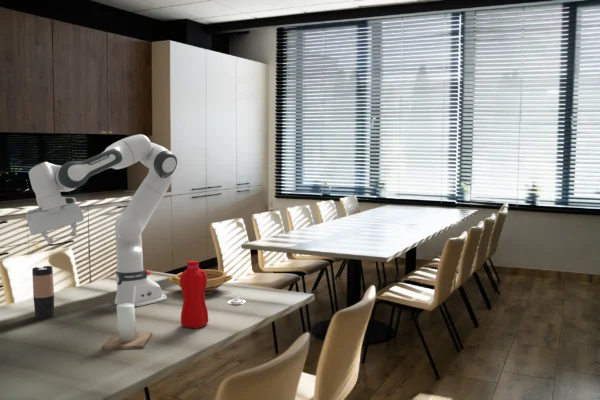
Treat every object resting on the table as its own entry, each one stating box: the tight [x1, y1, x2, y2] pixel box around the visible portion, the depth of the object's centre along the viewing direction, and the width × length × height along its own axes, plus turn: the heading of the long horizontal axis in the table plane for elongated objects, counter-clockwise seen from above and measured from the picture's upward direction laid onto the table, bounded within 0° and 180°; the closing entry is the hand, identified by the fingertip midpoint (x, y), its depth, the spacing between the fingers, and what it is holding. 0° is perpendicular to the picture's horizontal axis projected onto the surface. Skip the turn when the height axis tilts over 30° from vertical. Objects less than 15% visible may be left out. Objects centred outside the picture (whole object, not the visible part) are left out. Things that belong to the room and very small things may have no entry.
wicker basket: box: [168, 269, 233, 295], centre depth 278 cm, size 30×24×8 cm
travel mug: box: [31, 265, 55, 320], centre depth 240 cm, size 8×8×20 cm
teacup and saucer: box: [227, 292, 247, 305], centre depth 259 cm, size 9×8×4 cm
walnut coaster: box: [101, 332, 153, 350], centre depth 208 cm, size 14×14×1 cm
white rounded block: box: [116, 303, 137, 342], centre depth 207 cm, size 6×6×12 cm
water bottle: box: [179, 260, 209, 329], centre depth 226 cm, size 9×11×25 cm
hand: (62, 239), depth 225 cm, fingers open, 8 cm apart
